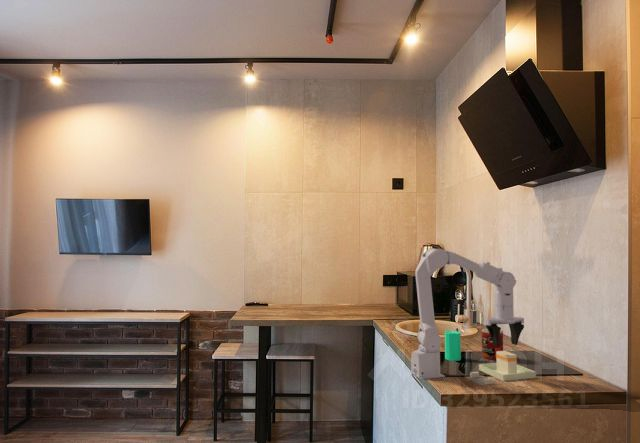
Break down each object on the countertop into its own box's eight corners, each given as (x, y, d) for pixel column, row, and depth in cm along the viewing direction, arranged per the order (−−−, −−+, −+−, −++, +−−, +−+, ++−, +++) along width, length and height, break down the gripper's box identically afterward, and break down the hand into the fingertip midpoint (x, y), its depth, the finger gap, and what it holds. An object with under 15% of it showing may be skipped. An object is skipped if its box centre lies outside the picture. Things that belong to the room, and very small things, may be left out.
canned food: (477, 356, 180) (477, 328, 180) (493, 354, 182) (493, 327, 183) (491, 361, 172) (490, 332, 173) (507, 359, 175) (507, 331, 176)
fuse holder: (480, 387, 142) (480, 380, 142) (464, 378, 151) (464, 372, 151) (499, 385, 144) (499, 378, 144) (482, 377, 153) (481, 370, 153)
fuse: (508, 376, 151) (507, 355, 151) (496, 371, 157) (496, 351, 157) (517, 375, 152) (516, 354, 152) (505, 370, 158) (504, 350, 158)
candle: (461, 361, 172) (461, 330, 173) (445, 360, 174) (445, 329, 174) (460, 357, 178) (459, 327, 179) (444, 356, 180) (444, 326, 180)
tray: (503, 382, 147) (503, 375, 147) (479, 371, 159) (478, 364, 159) (536, 379, 150) (536, 371, 150) (509, 368, 163) (509, 361, 163)
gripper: (494, 308, 150) (494, 349, 149) (530, 306, 154) (530, 346, 153) (481, 305, 157) (481, 344, 156) (516, 303, 161) (516, 341, 160)
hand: (505, 345), depth 155 cm, fingers open, 7 cm apart
